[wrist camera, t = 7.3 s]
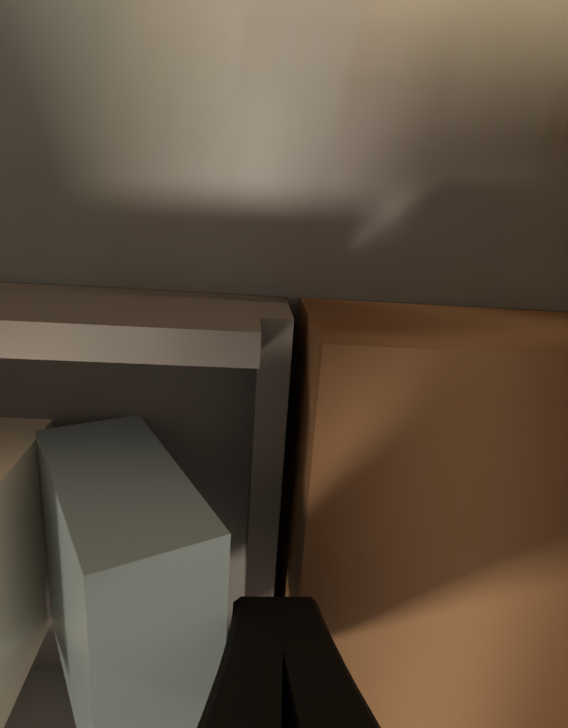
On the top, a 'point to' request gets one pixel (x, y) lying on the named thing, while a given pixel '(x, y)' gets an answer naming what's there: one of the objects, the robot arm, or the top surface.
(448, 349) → the walnut plate
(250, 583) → the bin
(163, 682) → the tile slate
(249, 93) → the top surface
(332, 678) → the robot arm
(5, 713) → the tile cream
